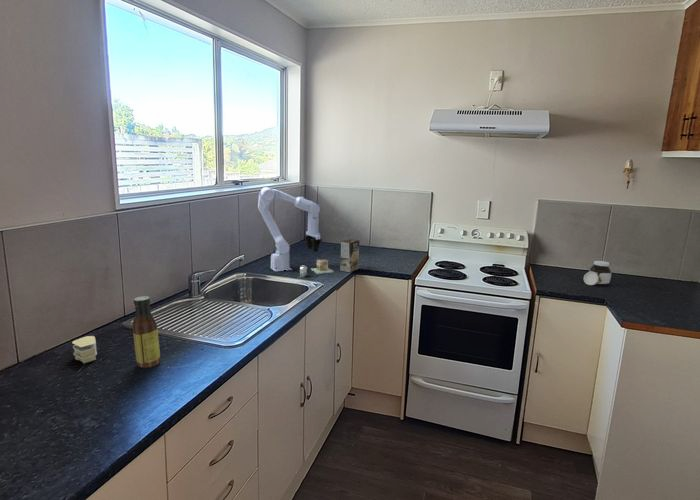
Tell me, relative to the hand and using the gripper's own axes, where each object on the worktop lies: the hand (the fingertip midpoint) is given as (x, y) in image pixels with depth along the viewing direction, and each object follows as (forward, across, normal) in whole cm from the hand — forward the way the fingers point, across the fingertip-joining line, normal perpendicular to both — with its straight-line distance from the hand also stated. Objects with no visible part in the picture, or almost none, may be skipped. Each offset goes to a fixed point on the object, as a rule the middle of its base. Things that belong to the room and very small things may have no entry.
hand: (312, 250), depth 234 cm
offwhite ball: (+8, -6, +8) cm, 13 cm away
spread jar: (+10, -82, -124) cm, 149 cm away
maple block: (+9, -8, -2) cm, 13 cm away
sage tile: (+10, -8, -2) cm, 13 cm away
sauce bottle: (+10, -83, +87) cm, 121 cm away
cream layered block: (+10, -72, +102) cm, 126 cm away
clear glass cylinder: (+10, -14, +11) cm, 20 cm away
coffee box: (+10, -11, -17) cm, 23 cm away
